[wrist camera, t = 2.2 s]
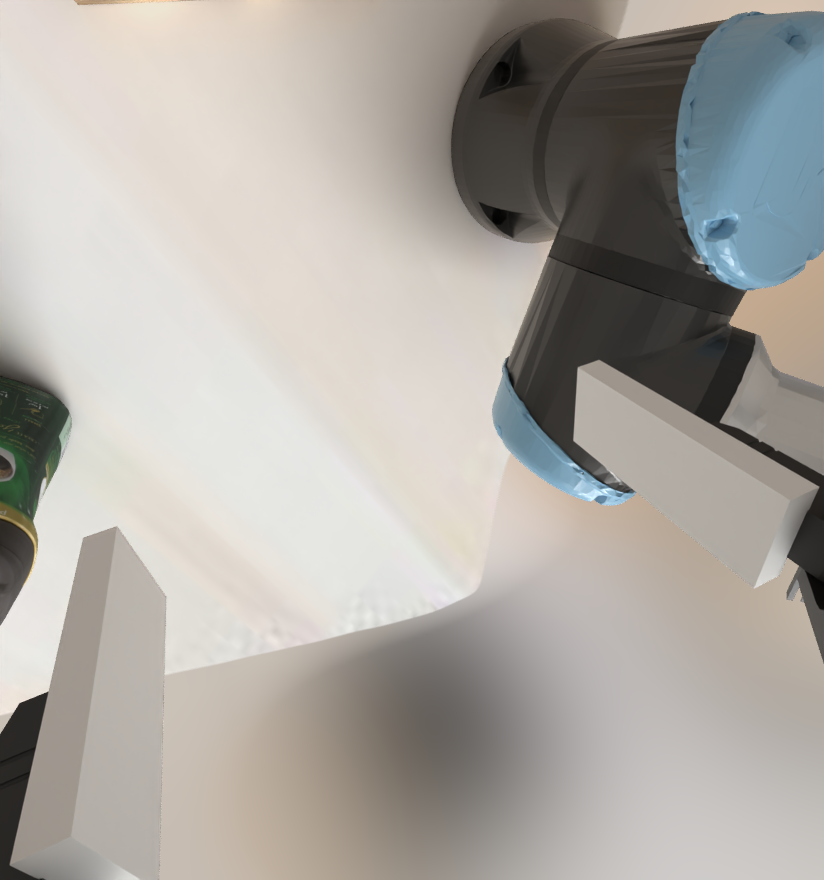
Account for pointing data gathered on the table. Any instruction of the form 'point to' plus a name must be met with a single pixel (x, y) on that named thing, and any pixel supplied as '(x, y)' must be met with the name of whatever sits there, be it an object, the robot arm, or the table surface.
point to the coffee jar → (25, 476)
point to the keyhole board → (118, 1)
